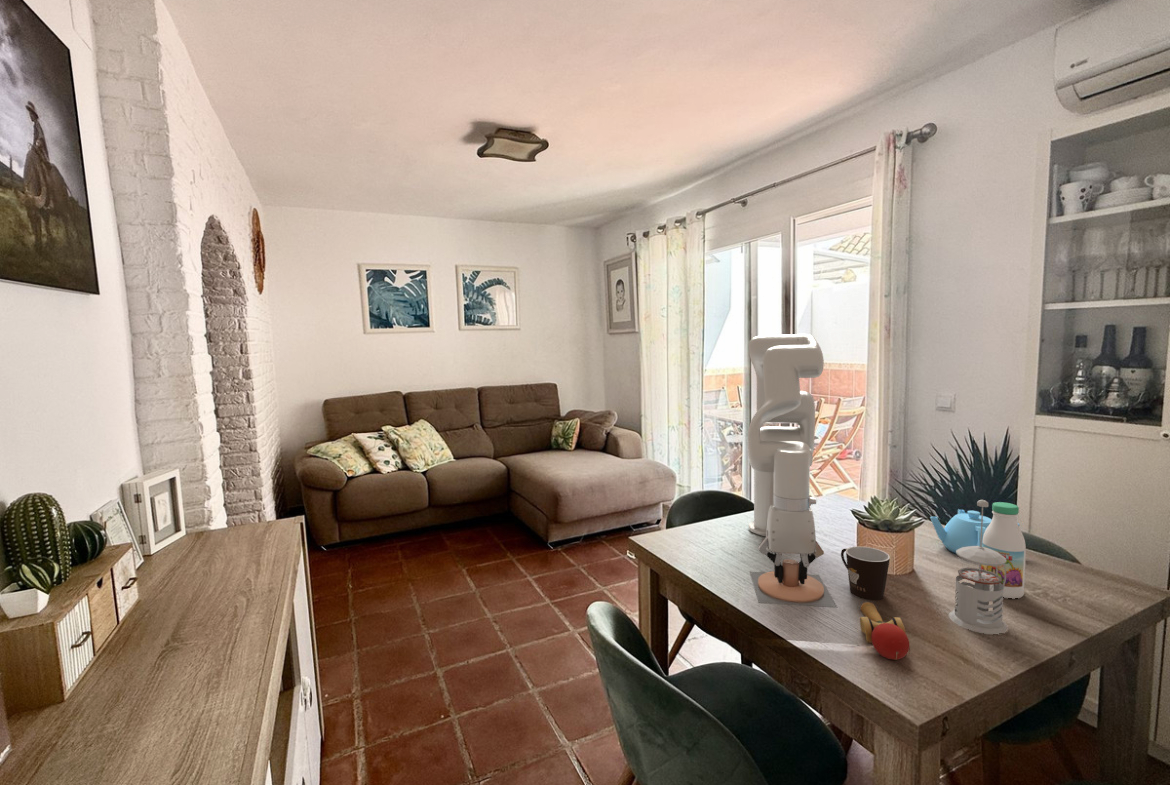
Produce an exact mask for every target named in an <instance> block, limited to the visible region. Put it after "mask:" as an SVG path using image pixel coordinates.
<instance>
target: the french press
mask: <svg viewBox="0 0 1170 785" xmlns="http://www.w3.org/2000/svg"><path fill="white" fill-rule="evenodd" d="M976 506H977V507H981V540H980V546H968V547H962V548H960V549H958V550H956V553H957V554H956V553H955V554H956V555H957V556H958V557H959V558H960V559H962V560H964V561H966V562H969V563H973V564H977V565H978V566H979V568H977V567H969V566H968V567H962V568H960V569H958V570H957V573H958V575H956V576H955V593H954V594H955V595H954V609H953V610H951V611H950V612H948V618H949V619H950V620H951V621H952V622H953V623H955V625H957V626H959V627H961V628H963V629H966V630H968V629H969V631H970V632H971V631H972V632H975V633H978V634H979V633H980V634H983V633H984V635H993V634H998V635H1000V634H999V633H1004V632H1005V631H1006V630H1007V629H1008V630H1009V627H1008V628H1007V626H1008V624H1007V623H1005V621H1004V620H1003V617H1004V616H1003V614H1004V613H1003V612H1004V610H1003V607H1004V602H1003V601H1004V598H1003V593H1004V585H1005V582H1006V568H1005V565H1004V564H1005V563H1006V558H1005V557H1003V556H1002V555H1001V554H999V553H998V552H996V551H994V550H992V549H989V548H985V547H982V525H983V516H984V508H989V502H988V501H987V500H984V499H980V500H978V501H977V502H976ZM981 565H988V566H994V567H996V574H994V573H992V572H991V571H990V572H989V571H987V570H983V569H982V570H981ZM999 565H1003V566H1004V569H1005V578H1004V583H1003V585H1002V584H1001V582H1002V578H1001V577H1000V576H999V575H997V574H998V568H997V566H999ZM963 580H966V581H963ZM960 581H963V582H960ZM967 581H970V582H967ZM971 582H973V583H974V584H973V583H971ZM990 585H993V586H992V587H991V588H990ZM993 587H994V591H991V589H992V588H993ZM990 602H992V604H990ZM989 609H992V610H989ZM1004 634H1005V633H1004Z"/></svg>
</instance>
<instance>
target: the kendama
mask: <svg viewBox="0 0 1170 785" xmlns="http://www.w3.org/2000/svg"><path fill="white" fill-rule="evenodd" d="M860 611H861V613H862V614H863V615H864V616H860V618H859V624H860V629H861V630H860V631H861V632H862V633H863V634H865V639H866V643H870V644H872V646H873V648H874V649H875V651H876V653H878V654H879V655H880V656H881V657H884V658H886V659H887V660H892V661H897V660H901V659H903V658H904V657H906V655H907V654H908V652H909V650H910V640H909V637H908V635H907V634H906V629H905V626H904V623H903V621H902V619H901V617H900V616H899V617H897V616H896V617H892V618H891V619H890V620H889V621H887V622H885V621H884V620H883V618H882V616H881V614H880V613H879V611H878V609H877V606H875V604H874V603H873V602H871V601H870V602H869V601H866V602H863V603H861V605H860Z"/></svg>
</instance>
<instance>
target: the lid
mask: <svg viewBox="0 0 1170 785" xmlns="http://www.w3.org/2000/svg"><path fill="white" fill-rule="evenodd" d="M799 562H800V561H798V560H795V559H791V558H789V559H787V558H785V559H783V560H781V565H782V567H783V581H782V583H779V582H778V579H777V578H775V576H774V570H772V571H768V572H767V571H766V572H767V573H764V574H762V575H761V576H760V577H759V578H758V586H759V588H760V590H761V591H762V592H764V593H765V594H767V595H769V596H771V597H773V598H776V599H779V600H783V601H788V602H796V603H807V602H813V601H817V600H819V599H821V598H822V597H823V595H824V586H823V585H822V583H820V582H819V581H818V580H816V579H815V578H813V577H810V576H808V575H807V579H805V583H804V584H801V583H800V581H799Z"/></svg>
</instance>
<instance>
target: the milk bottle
mask: <svg viewBox="0 0 1170 785" xmlns="http://www.w3.org/2000/svg"><path fill="white" fill-rule="evenodd" d="M991 509H992V511H991V513H992V518H991V520H992V521H991V523H990V524H989V526H988V527H987V529H986V530H985V533H984V535H983V541H982V547H985V548H989V549H992V550H994V551H996V552H998V553H999V554H1001V555H1002V556H1003V557H1005V558H1006V563H1005V564H1004V565H1005V568H1006V582H1005V585H1004V593H1003V597H1004V598H1003V599H1008V598H1012V599H1011V600H1016V599H1015V598H1018V599H1021V598H1022V597H1023V596H1024V593H1025V577H1026V576H1025V575H1026V557H1027V555H1026V554H1027V553H1026V552H1027V551H1026V549H1027V548H1026V541H1025V537H1024V534H1023V532H1022V531H1021V529H1020V526H1018V523H1019V522H1018V517H1019V513H1020V512H1019V510H1020V508H1019V506H1018V505H1016V504H1013V503H1009V502H1002V501H998V502H992V504H991ZM997 568H998V574H997V575H999V576H1000V577H1001V578H1002V582H1001V584H1002V585H1003V583H1004V578H1005V569H1004V566H1003V565H999V566H997ZM982 569H983V570H987V571H989V572H990V571H991V572H992V573H994V574H996V567H994V566H988V565H981V570H982ZM992 586H993V585H990V588H991V587H992ZM991 591H994V587H993V588H992V589H991Z"/></svg>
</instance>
